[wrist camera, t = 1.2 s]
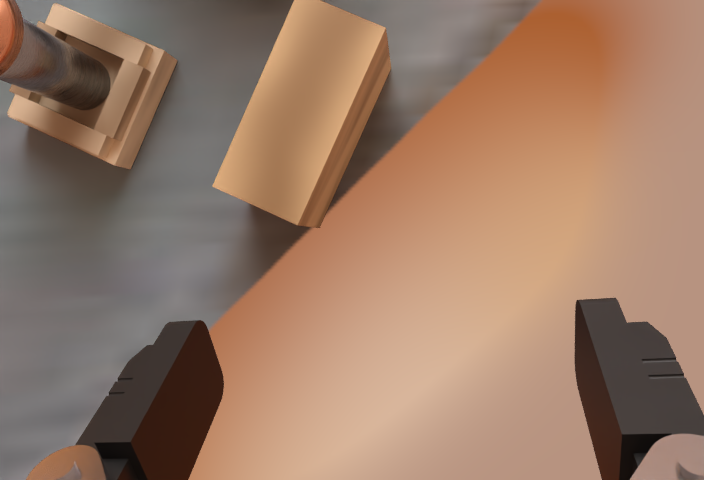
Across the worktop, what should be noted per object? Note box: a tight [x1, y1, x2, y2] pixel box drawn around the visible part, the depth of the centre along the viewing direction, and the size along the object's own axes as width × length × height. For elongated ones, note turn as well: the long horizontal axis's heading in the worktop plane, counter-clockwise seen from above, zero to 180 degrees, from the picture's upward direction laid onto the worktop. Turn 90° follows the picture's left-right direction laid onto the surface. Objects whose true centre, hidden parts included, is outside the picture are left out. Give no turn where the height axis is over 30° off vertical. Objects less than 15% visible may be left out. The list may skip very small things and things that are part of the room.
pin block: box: [7, 3, 177, 169], centre depth 36 cm, size 7×7×3 cm
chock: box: [213, 0, 391, 228], centre depth 33 cm, size 4×10×7 cm, turn 156°
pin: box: [0, 0, 110, 110], centre depth 31 cm, size 4×4×10 cm
